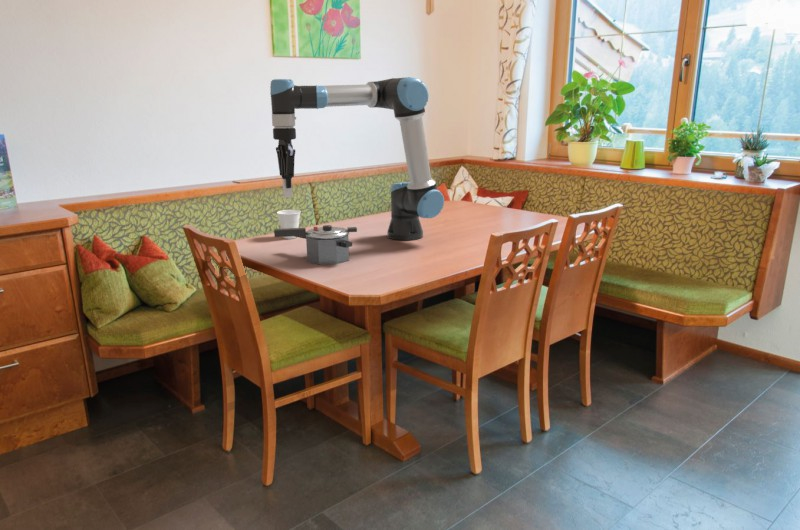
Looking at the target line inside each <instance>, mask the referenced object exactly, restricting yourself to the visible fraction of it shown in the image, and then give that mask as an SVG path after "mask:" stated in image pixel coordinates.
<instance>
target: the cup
mask: <svg viewBox="0 0 800 530" xmlns="http://www.w3.org/2000/svg"><path fill="white" fill-rule="evenodd" d="M301 212H302V211H301V210H298V209H283V210H279V211H276V214H277V217H278V222H279V225H280V229H284V228H300V227H299V225H300V219H301V218H300V216H301ZM297 238H298V237H295V236H287V237H283V239H286V240H293V239H297Z"/></svg>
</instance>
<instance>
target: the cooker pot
mask: <svg viewBox="0 0 800 530" xmlns="http://www.w3.org/2000/svg"><path fill="white" fill-rule="evenodd" d="M295 237H297V238H300V239H305V242H306V257H307V259H306V260H307V262H308V263H311V264H316V265H318V266H319V265H338V264H341V263H345V262H348V261H350V247H353V241H350V239H349V235H347V236H345V237H341V238H335V239H315V238H309V237H307V236H295Z"/></svg>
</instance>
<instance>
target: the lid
mask: <svg viewBox="0 0 800 530" xmlns="http://www.w3.org/2000/svg"><path fill="white" fill-rule="evenodd" d="M273 232H274V235H273V236H274V238H281V237H287V236H307V237H309V238H315V239H335V238H341V237H345V236H347V235H348V236H349V235H350V233H355V232H356V233H357V232H358V228H357V226H349V227H347V228H344V227H338V226H332V225H330V224H325V225H322V226H319V227H318V226H313V228H310V229H308V230H306V227H298V228H284V229H281V228H274V229H273Z"/></svg>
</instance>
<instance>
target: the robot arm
mask: <svg viewBox="0 0 800 530" xmlns="http://www.w3.org/2000/svg"><path fill="white" fill-rule="evenodd" d="M269 87H270V89H269V90H270V101H271V103H270V105H271V122H272V123H271V124H272V127H273V129H272V136H273V137H272V138H273V139H274V140H276V141H277V140H278V142H277V143H278V144H277V147H275V151H276V154H277V161H278V162H277V163H278V170H279V176H280V177H281V178H282V193H283V198H284V199H287V198H293V183H292V179H293V178H294V176H295V155H296V149H295V148H294V149H293V147H294V146H293V143H292V140H296V139H297V133H296V127H295V126H296V120H297V117H296V116H295V115H296V110H298V109H304V110H305V109H308V110H310V109H311V110H312V109H317V110H318V109H325V108H326V107H327V108H329V107H330V108H331V107H352V106H353V107H355V106H367V107H368V108H378V109H387V110H393V115H394V118H395V119H396V120H397V121H399V126H400V130H401V131H400V133H401V136H402V138H401V139H402V143H403V147H404V148H403V149H404V155H405V161H406V165H407V166H406V167H407V172H408V178H409V180H408V181H403V182H395V183H392V184H391V186H390V206H391V207H390V210H391V211H390V215H391V219H390V222H389V225H388V228H387V235H386V236H387V238H389V239H392V240H395V241H397V240H398V241H412V240H418V239H421V238H423V237H424V229H423V227H422V224H421V221H420V220H421V219H422V218H423V219H433V218H436V217H438V216H439V215H440V214H441V212H442V210H443V208H444V205H445V197H444V195H443V193H442V192H441V191H440V190H439V189H437V182H436V180H435V179H433V178H432V174H431V168H430V167H431V166H430V162H429V154H428V147H427V141H426V134H425V128H424V123H423V116H424V115H425V113H426V109H425V107H426V106H427V103H428V102H429V91H428V88H427V86H426V84H425V83H424V82H423V81H422V80H421V79H419V78H416V77H410V76H407V77H397V78H394V77H392V78H387V79H382V80H376V81H367V83H366V84H340V85H339V84H337V85H335V84H334V85H333V84H332V85H295V83H294V80H293V79H292V78H291V79H290V78H289V79H288V78H281V79H280V78H275V79H271V81H270V86H269ZM420 218H421V219H420Z"/></svg>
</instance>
